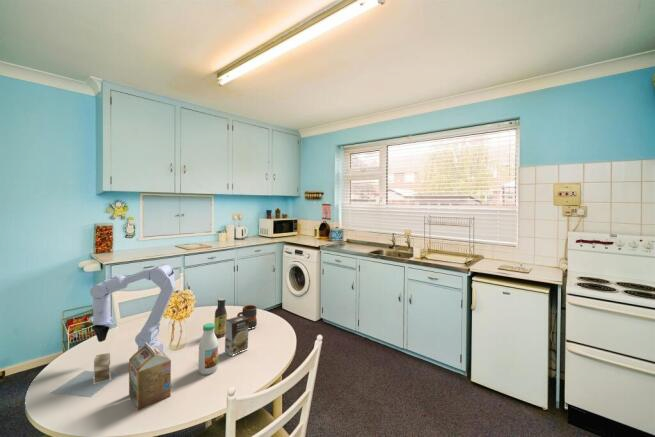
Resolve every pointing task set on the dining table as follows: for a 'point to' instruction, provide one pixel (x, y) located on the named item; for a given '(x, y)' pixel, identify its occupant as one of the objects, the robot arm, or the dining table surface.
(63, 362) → the dining table surface
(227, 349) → the coffee box
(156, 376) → the milk carton
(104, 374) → the walnut block
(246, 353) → the dining table surface
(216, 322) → the sauce bottle
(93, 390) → the light blue flat plate
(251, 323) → the mug
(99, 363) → the birch block
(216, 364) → the milk bottle
